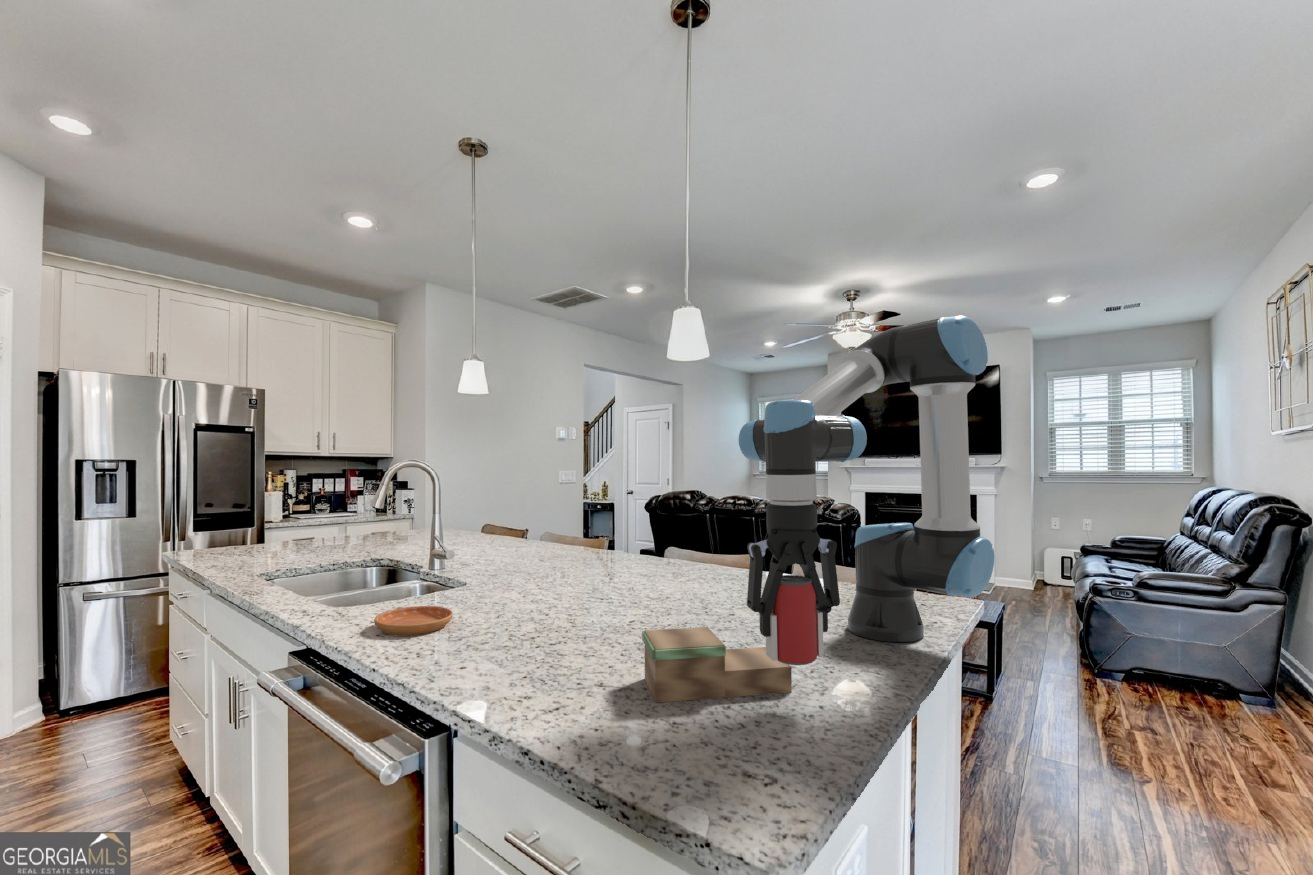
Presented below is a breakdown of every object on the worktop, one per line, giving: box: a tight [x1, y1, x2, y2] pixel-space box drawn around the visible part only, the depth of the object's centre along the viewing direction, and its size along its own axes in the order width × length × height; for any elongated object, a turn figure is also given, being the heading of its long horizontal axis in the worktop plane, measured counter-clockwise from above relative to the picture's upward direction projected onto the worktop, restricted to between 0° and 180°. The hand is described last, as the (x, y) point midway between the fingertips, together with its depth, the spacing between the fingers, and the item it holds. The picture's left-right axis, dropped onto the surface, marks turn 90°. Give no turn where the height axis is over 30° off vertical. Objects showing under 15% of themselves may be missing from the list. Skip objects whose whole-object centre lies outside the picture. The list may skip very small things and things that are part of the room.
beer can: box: [772, 574, 818, 666], centre depth 88 cm, size 7×7×12 cm
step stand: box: [641, 626, 793, 703], centre depth 96 cm, size 22×10×8 cm, turn 101°
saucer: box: [373, 605, 454, 637], centre depth 129 cm, size 16×16×3 cm
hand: (794, 655), depth 88 cm, fingers closed on beer can, 7 cm apart
